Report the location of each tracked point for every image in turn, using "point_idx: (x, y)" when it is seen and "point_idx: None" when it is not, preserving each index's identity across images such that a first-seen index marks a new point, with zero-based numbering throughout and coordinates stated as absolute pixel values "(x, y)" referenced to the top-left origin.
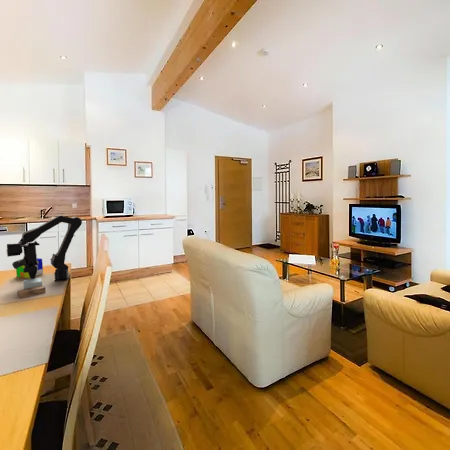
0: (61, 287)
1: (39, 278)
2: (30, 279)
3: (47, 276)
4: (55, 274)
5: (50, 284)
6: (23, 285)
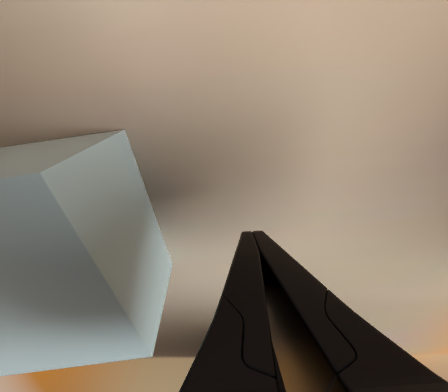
0: None
1: (97, 356)
2: (76, 283)
3: (445, 280)
4: (281, 387)
5: (174, 310)
6: (59, 148)
